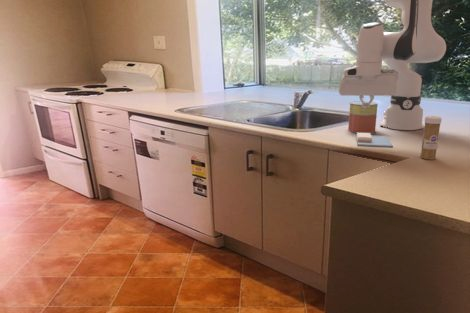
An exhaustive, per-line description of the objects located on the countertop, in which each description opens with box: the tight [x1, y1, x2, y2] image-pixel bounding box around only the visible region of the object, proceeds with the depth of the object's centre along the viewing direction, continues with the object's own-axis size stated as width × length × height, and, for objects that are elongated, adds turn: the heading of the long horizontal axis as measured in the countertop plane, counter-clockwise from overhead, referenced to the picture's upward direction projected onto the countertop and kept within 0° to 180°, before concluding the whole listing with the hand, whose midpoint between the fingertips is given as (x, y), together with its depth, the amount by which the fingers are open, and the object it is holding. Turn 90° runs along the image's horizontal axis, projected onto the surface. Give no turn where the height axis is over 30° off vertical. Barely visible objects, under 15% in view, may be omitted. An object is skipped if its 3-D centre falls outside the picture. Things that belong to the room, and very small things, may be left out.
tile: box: [356, 133, 372, 142], centre depth 142 cm, size 8×2×5 cm
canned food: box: [347, 100, 379, 134], centre depth 159 cm, size 11×11×12 cm
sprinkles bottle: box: [419, 115, 442, 160], centre depth 117 cm, size 5×5×13 cm
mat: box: [355, 134, 394, 148], centre depth 141 cm, size 16×12×1 cm
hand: (365, 107), depth 139 cm, fingers closed
